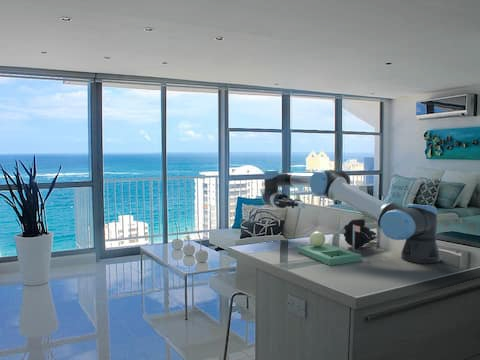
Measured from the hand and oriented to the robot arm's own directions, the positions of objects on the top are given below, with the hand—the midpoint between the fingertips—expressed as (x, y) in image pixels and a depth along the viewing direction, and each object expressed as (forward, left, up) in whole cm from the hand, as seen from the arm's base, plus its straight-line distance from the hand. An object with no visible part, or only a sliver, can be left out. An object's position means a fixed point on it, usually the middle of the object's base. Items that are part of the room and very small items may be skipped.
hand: (303, 205), depth 198 cm
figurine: (-24, -11, -21) cm, 33 cm away
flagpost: (-27, +10, -20) cm, 35 cm away
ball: (-9, +8, -14) cm, 18 cm away
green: (-16, +13, -20) cm, 29 cm away
